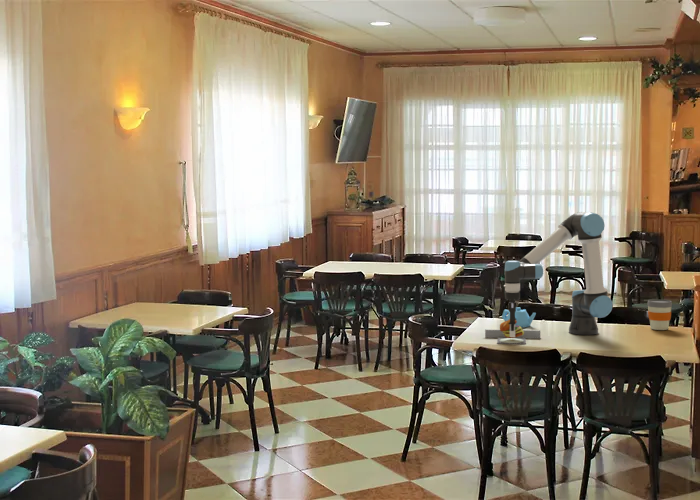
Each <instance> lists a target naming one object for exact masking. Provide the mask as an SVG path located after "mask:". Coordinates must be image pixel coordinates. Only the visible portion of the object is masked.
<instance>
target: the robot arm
mask: <svg viewBox="0 0 700 500" xmlns="http://www.w3.org/2000/svg"><path fill="white" fill-rule="evenodd" d="M604 221H605V220H604V219H603V217H602V216H601V215H600V214H599V213H595V212H589V211H587V212H586V211H585V212H583V211H578V212H575V213H573V214H571V215H569V216H568V217H567V218H566V219H565V220H563V221H562V222H560V223H559V224H558V226H557V227H558V228H557V229H555V230H554V231H553V232H552V233H551V234H550V235H549V236H547V237H546V238H545V239H544V240H542V241H541V242H540V243H539V244H538V245H536V246H535V247H534V248H533V249H531V251H529V252H528V253H527V254H526V255H524V256H523V257H522V258H521V259H519V260H507V261H505V263H504V284H503V287H504V299H505V300H507V301H509V302H508V310H509V312H510V323H508V324H510V337H515V320H516V318H515V312H516V307H517V302H516V301H517V300H521V280H537V279H538V280H539V279H542V278H543V276H544V267H543V266H542V264H540V263H541V262H542V261H543V260H545V259H547V257H548V256H550V255H551V254H552V253H553V252H554V251H555V250H556V249H559V247H560V246H561V245H563V244H564V243H566V241H568V240H572V239H573V238H574V237H576V236H577V239H578V241H579V242H580V243H581V249H582V250H581V251H582V261H583V267H584V268H583V269H584V277H585V288H586V289H579V290H577V289H574V290H573V291H572V295H571V299H572V300H571V302H572V303H571V307H572V308H571V310H572V313H571V315H572V316H571V321H570V324H569V327H568V333H569V334H573V335H579V336H580V335H582V336H590V335H591V336H592V335H598V334H599V326H598V324H597V321H596V318H599V319H601V318H606V317H607V316H608V315H609V314H610V313H611V312H612V310H613V300H612V299H611V298H610V297H609V296H608V290H607V289H606V288H605V286H604V278H603V269H602V258H601V249H600V248H601V246H600V240H601V239H602V238H603V236H602V233H603V231H604V230H605V222H604Z"/></svg>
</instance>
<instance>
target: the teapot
mask: <svg viewBox="0 0 700 500" xmlns="http://www.w3.org/2000/svg"><path fill="white" fill-rule="evenodd" d="M536 314H537V313H536V312H532V314H531V315H529V313H528V312H527V309H525V308H524V309H521V307H520V306H519V307H517V306H516V312H515V318H516V321H517V323H516V324H515V326H517V325H518V326H520V327H521V329H523V328H529V327H530V326H531V324H532V322H533V321H534V319H535V317H536ZM501 319H503V321H504V322H505V321H507V320H509V319H510V312H509V309H504V310H503V312H502V315H501Z"/></svg>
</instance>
